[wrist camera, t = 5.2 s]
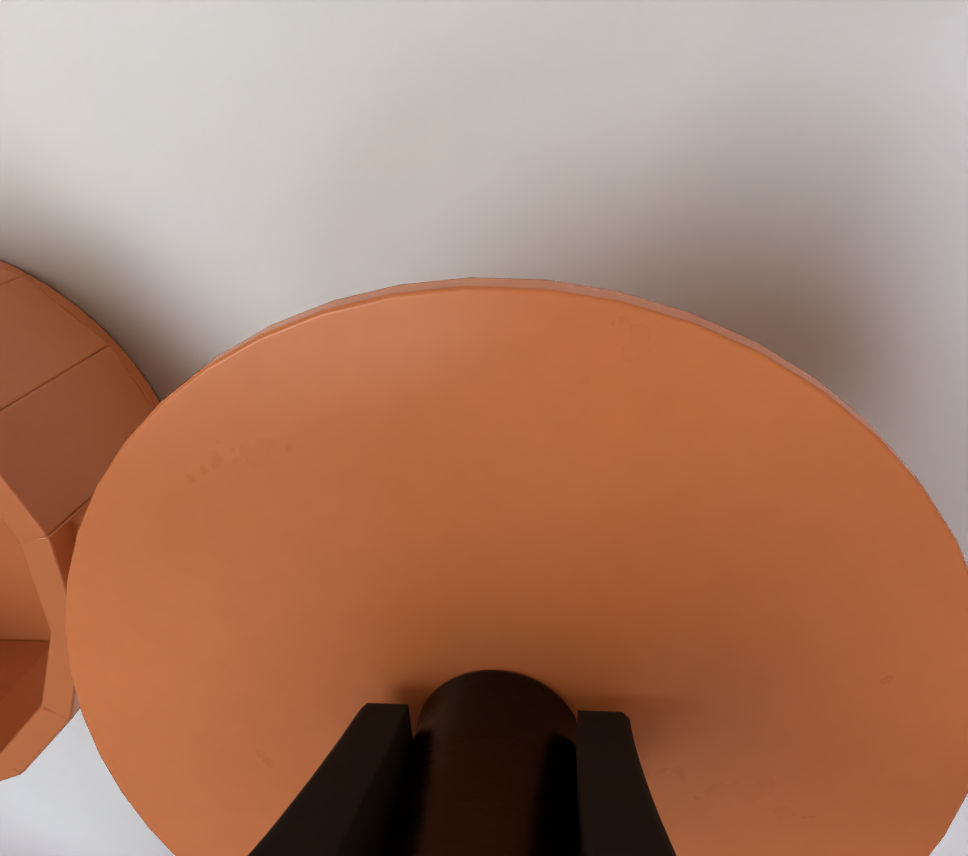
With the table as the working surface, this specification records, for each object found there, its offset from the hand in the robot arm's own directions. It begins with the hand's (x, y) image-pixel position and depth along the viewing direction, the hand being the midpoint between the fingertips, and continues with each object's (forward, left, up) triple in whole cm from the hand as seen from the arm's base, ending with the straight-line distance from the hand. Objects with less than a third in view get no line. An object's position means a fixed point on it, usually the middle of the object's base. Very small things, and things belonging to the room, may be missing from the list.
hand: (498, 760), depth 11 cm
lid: (0, 0, -1) cm, 1 cm away
